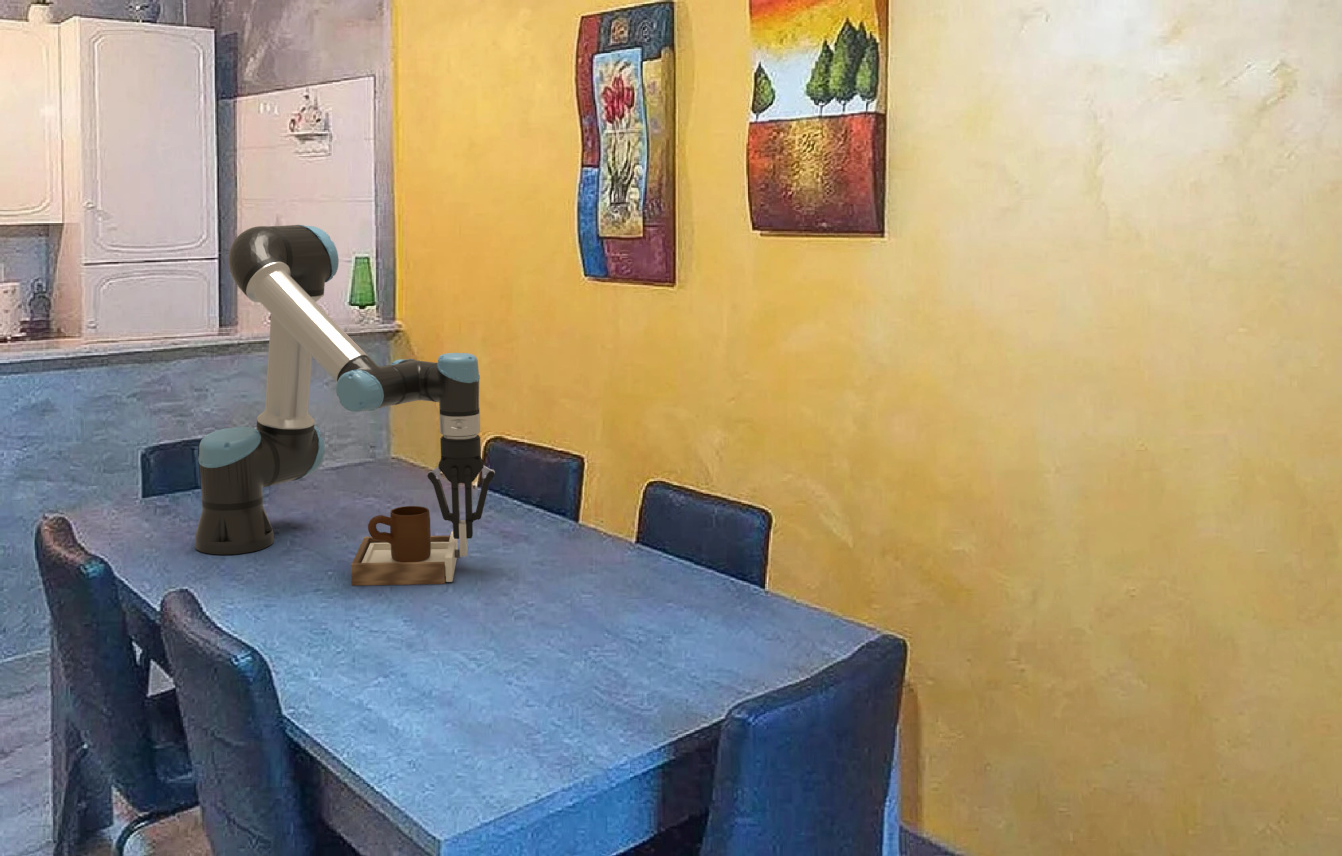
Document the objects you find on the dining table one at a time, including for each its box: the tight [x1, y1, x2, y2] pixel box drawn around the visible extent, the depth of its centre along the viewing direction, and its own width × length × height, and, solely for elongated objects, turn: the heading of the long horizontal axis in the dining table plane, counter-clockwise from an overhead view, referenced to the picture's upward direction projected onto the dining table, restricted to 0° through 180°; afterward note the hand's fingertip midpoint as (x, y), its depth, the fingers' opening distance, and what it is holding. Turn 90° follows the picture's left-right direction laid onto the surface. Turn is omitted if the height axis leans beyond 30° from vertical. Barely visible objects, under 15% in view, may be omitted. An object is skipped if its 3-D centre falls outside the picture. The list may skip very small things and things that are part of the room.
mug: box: [367, 505, 432, 562], centre depth 231 cm, size 12×8×9 cm, turn 119°
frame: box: [350, 534, 451, 586], centre depth 231 cm, size 17×18×4 cm
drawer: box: [362, 530, 461, 583], centre depth 231 cm, size 18×18×5 cm
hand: (463, 554), depth 232 cm, fingers closed
